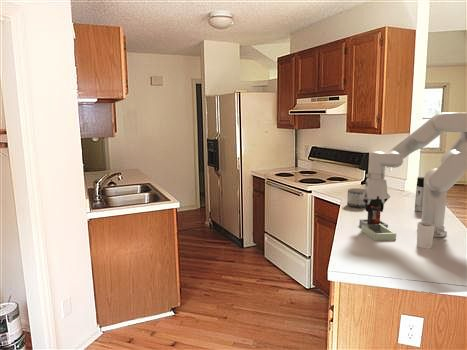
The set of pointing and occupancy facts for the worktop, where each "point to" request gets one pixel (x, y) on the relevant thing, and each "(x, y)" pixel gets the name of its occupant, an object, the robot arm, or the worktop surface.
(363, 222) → the cradle housing
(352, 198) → the planter
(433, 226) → the white square cup
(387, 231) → the trough
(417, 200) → the spray can
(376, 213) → the deodorant
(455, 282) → the worktop surface
